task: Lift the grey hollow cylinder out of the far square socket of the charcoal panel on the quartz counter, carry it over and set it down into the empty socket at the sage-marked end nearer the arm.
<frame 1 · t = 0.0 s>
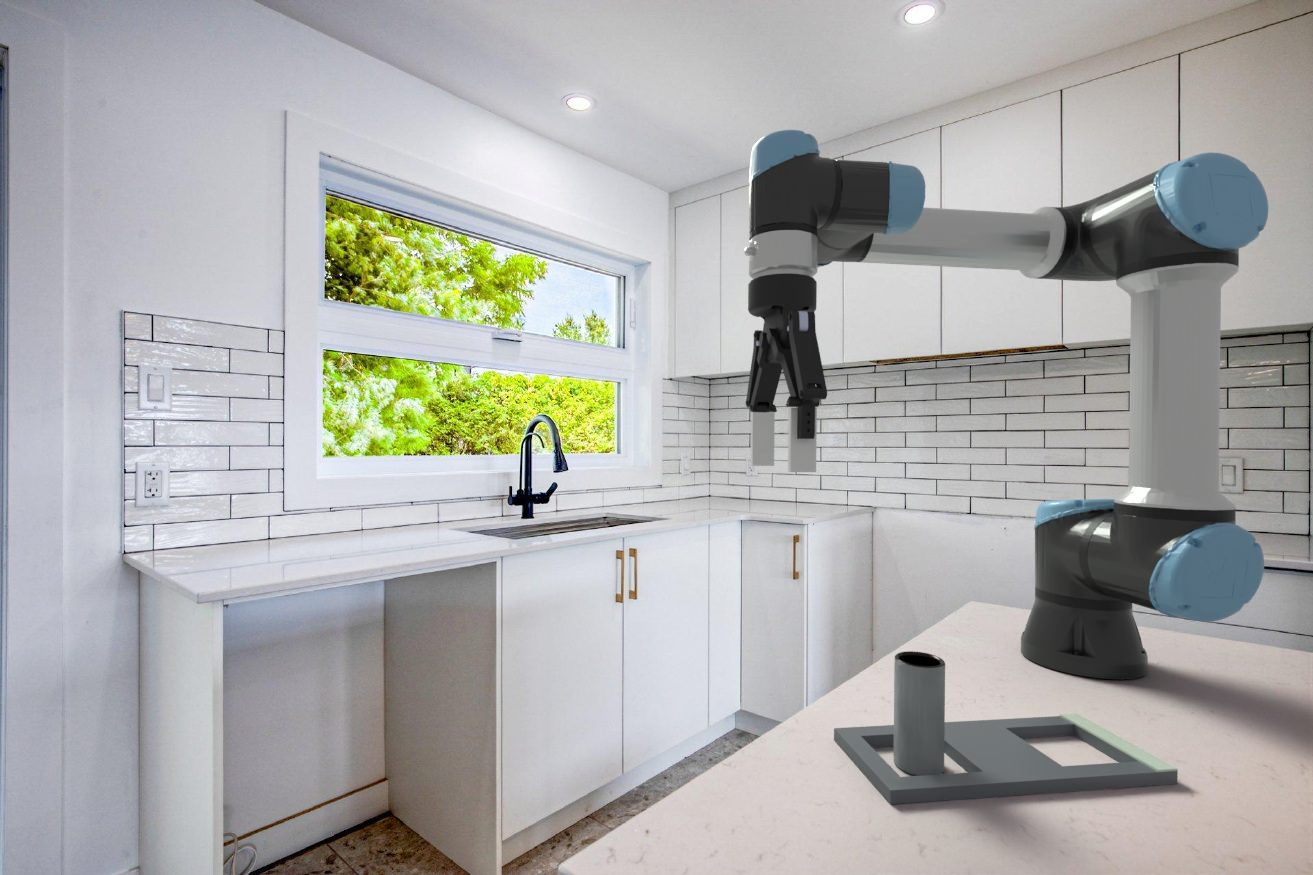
hand: (780, 468, 73), 28 cm above the countertop, fingers open, 13 cm apart
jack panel: (994, 760, 64), on the countertop
grey hollow cylinder: (918, 767, 63), resting in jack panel
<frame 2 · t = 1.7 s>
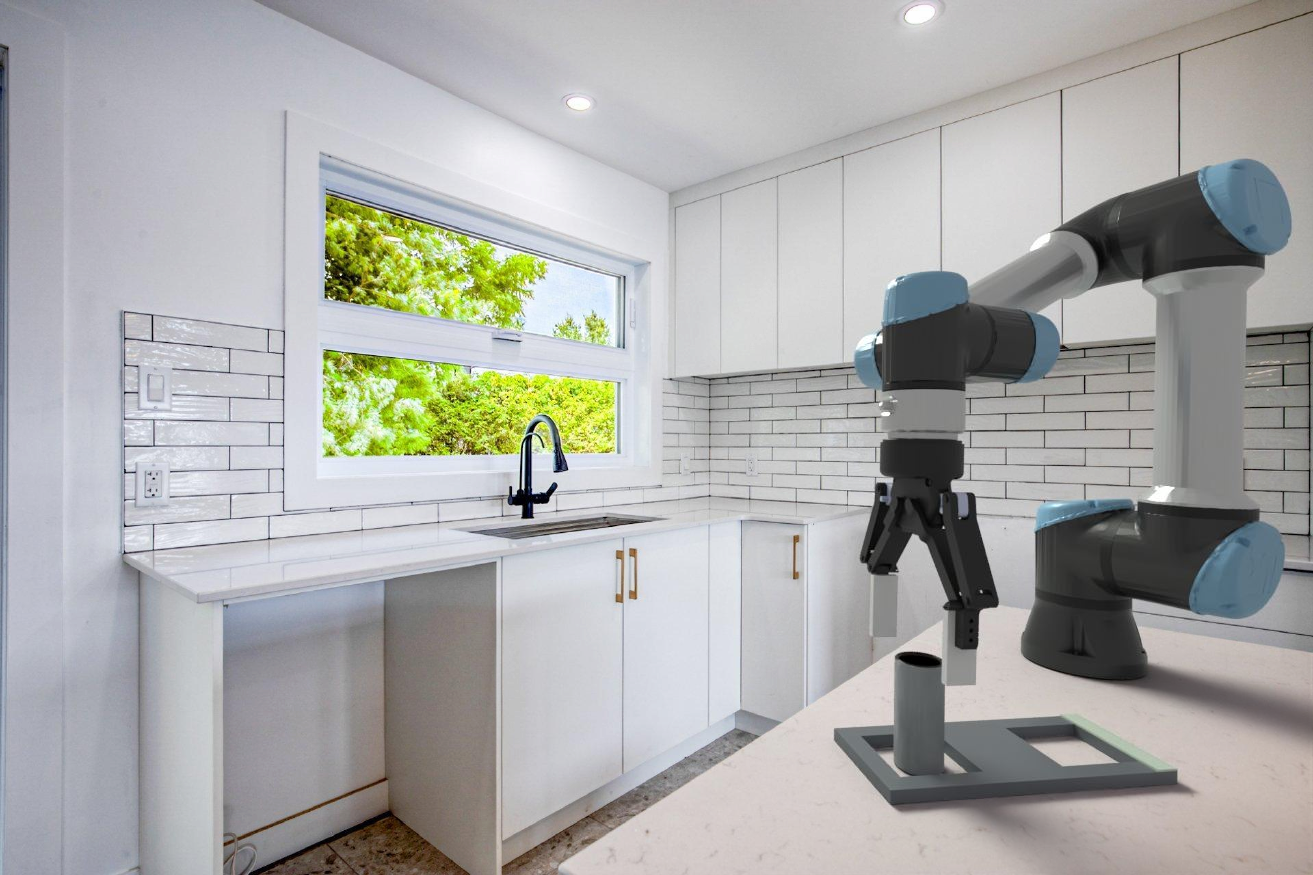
hand: (916, 657, 63), 10 cm above the countertop, fingers open, 13 cm apart
nothing on the countertop moved.
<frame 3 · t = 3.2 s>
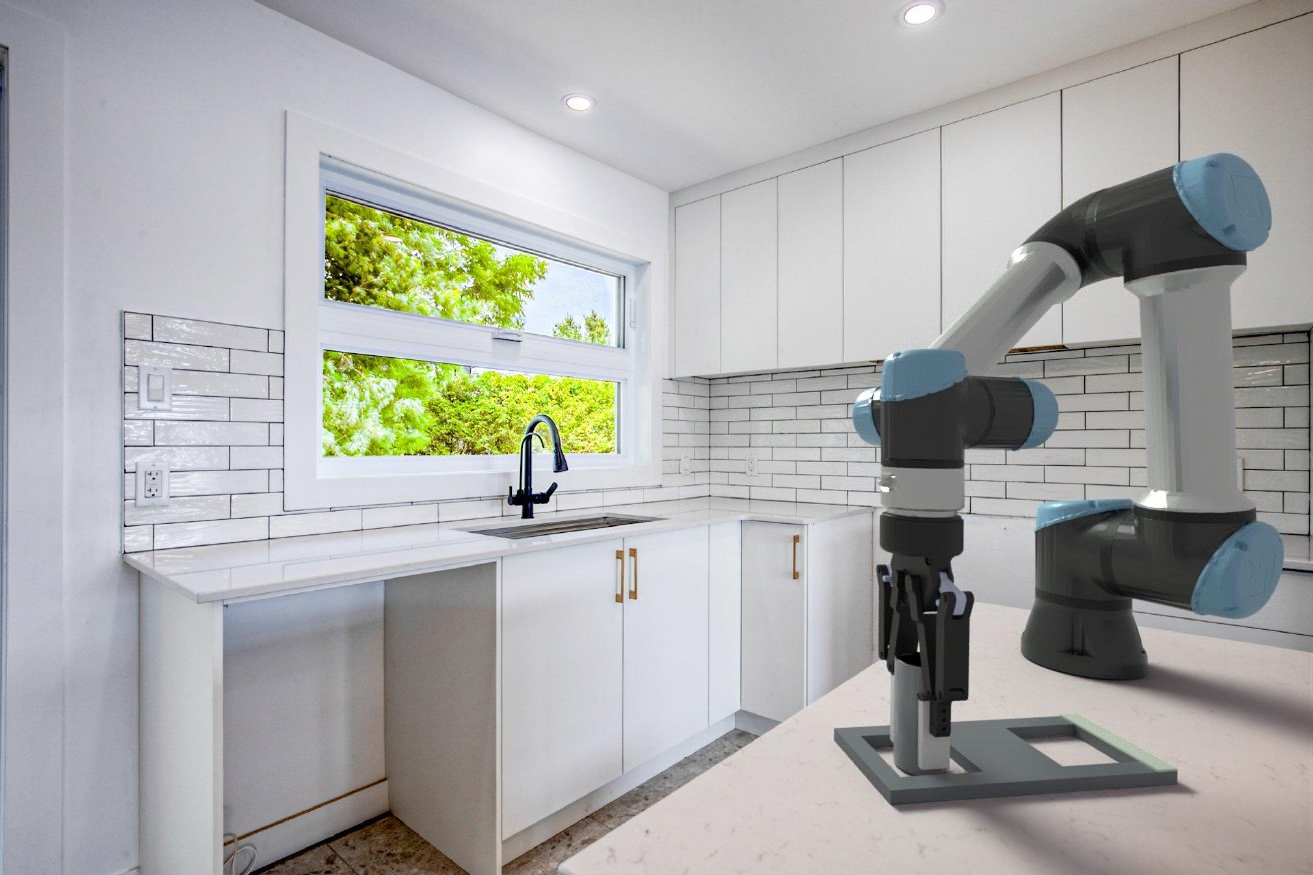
hand: (918, 752, 63), 1 cm above the countertop, fingers closed on grey hollow cylinder, 4 cm apart
grey hollow cylinder: (918, 767, 63), resting in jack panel, touching gripper
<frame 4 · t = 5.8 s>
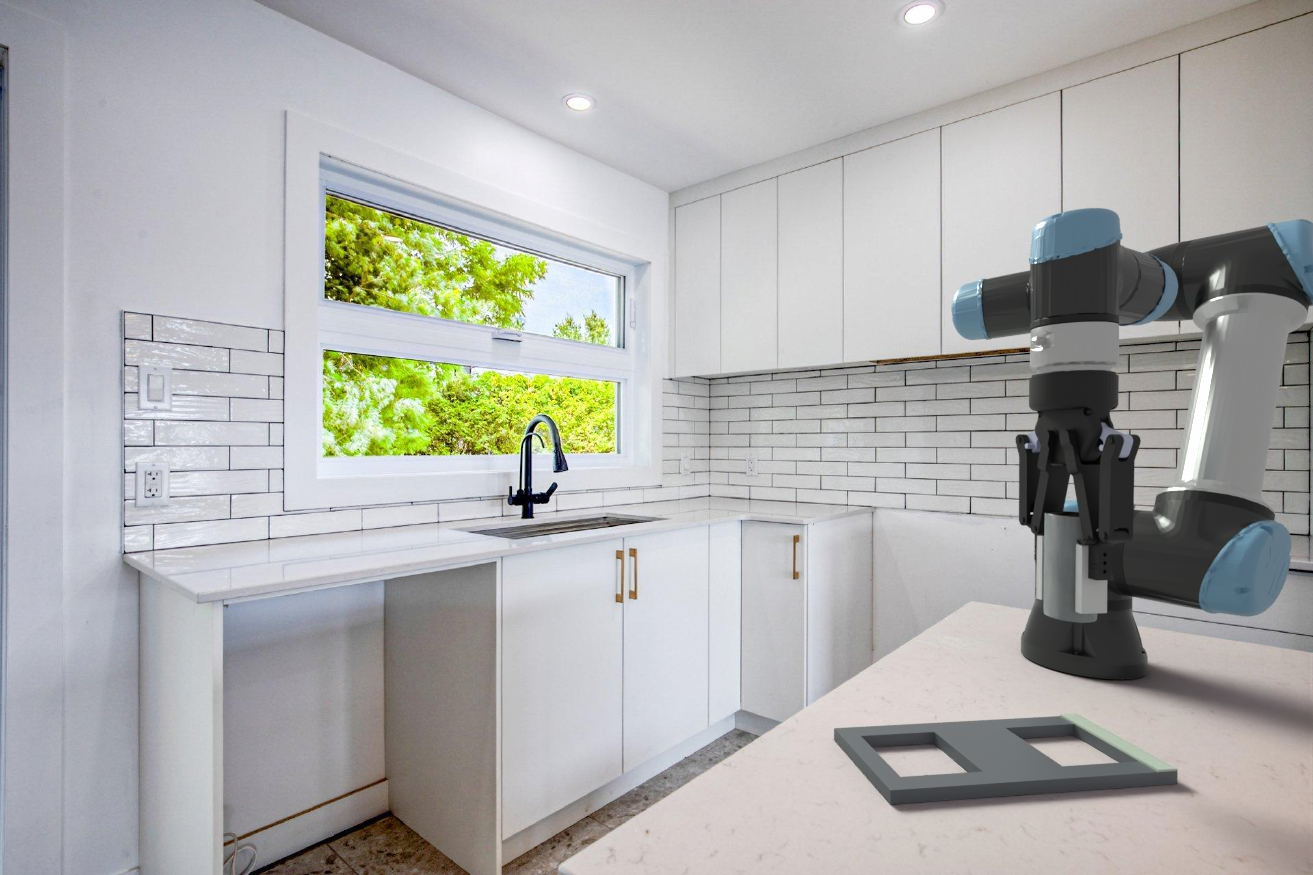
hand: (1070, 604, 65), 15 cm above the countertop, fingers closed on grey hollow cylinder, 4 cm apart
grey hollow cylinder: (1069, 618, 65), point 14 cm above the countertop, touching gripper
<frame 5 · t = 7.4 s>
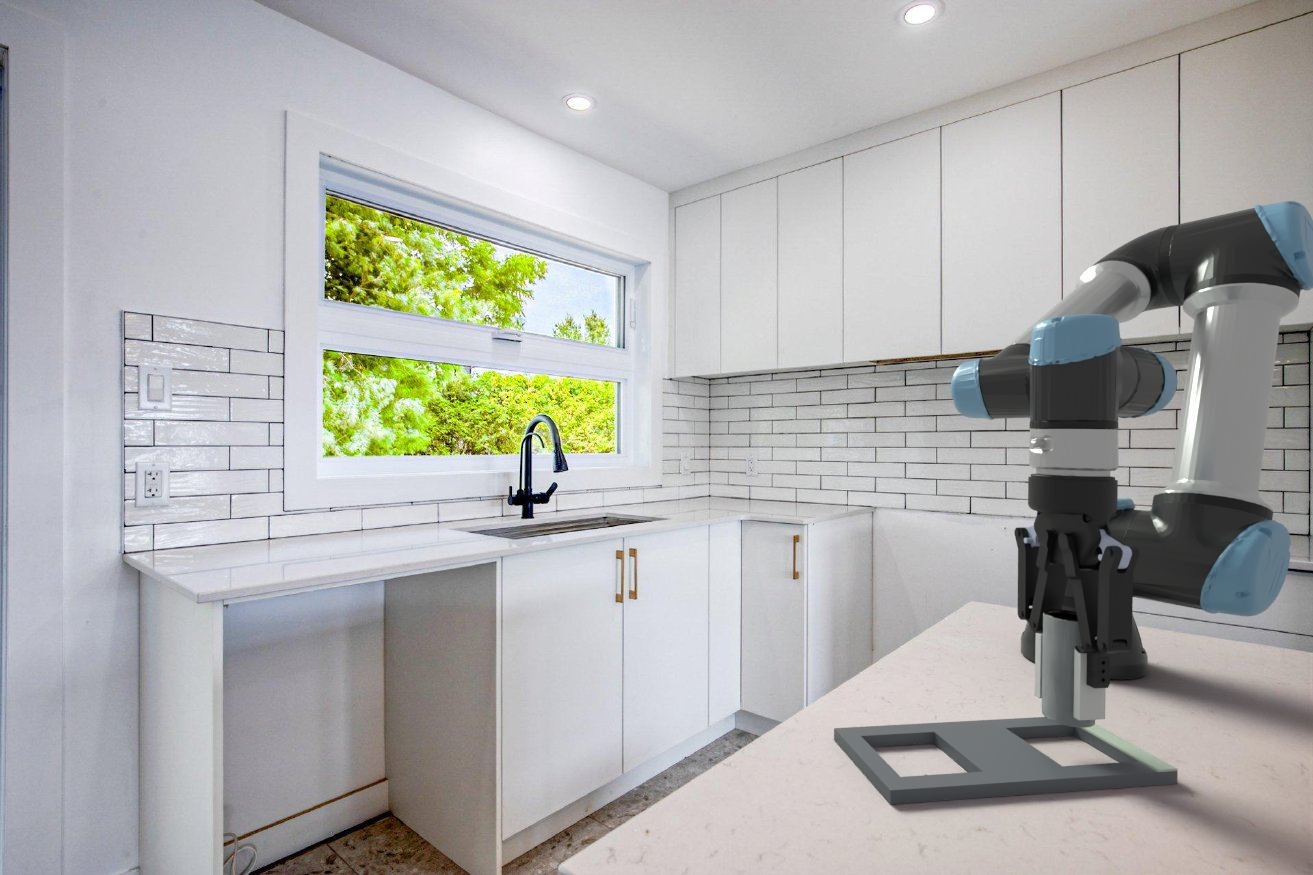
hand: (1068, 706, 65), 5 cm above the countertop, fingers closed on grey hollow cylinder, 4 cm apart
grey hollow cylinder: (1067, 720, 65), point 4 cm above the countertop, touching gripper
when the fingers open (2 cm above the countertop, at t = 8.7 s): grey hollow cylinder stays where it is, resting in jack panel.
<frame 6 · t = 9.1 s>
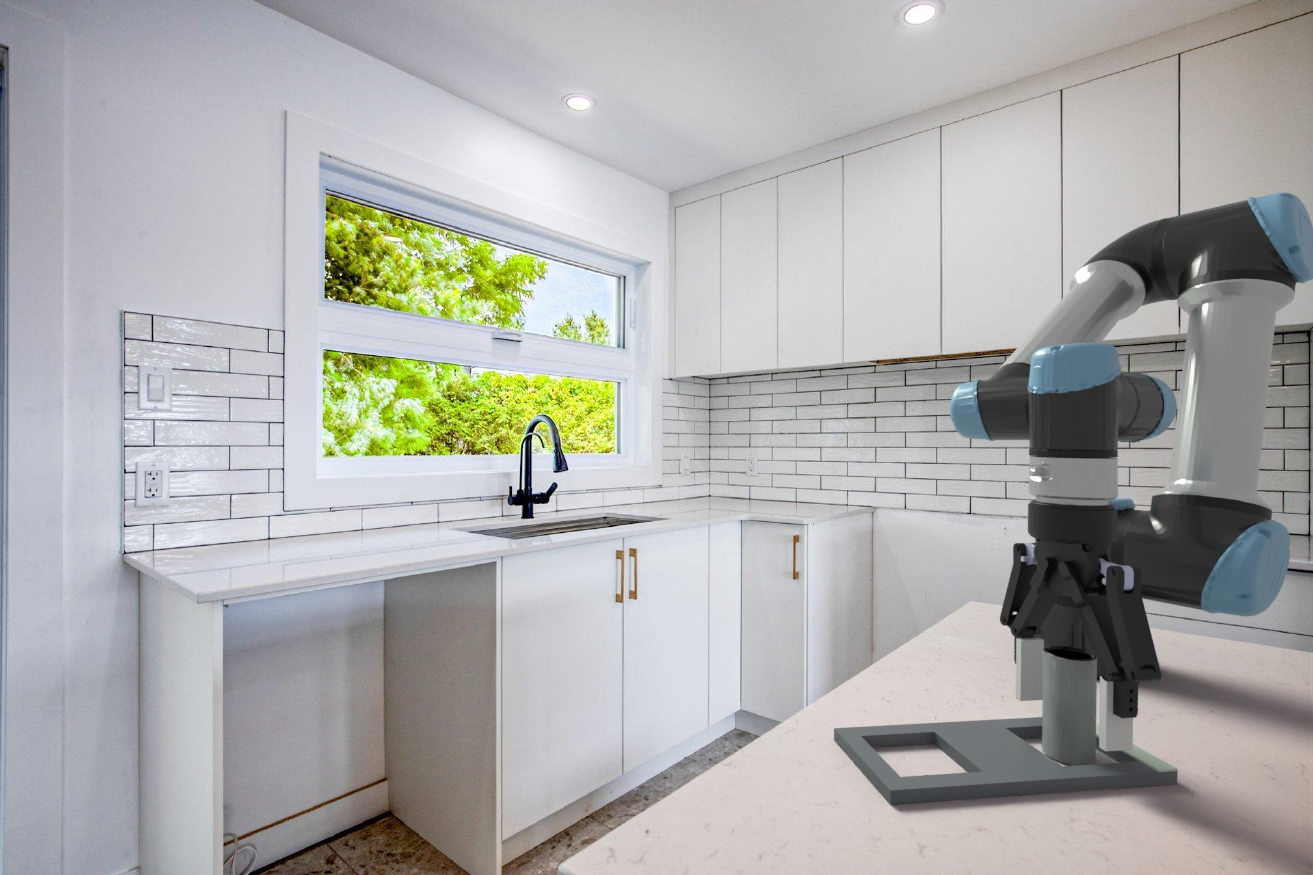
hand: (1068, 721, 65), 3 cm above the countertop, fingers open, 10 cm apart
grey hollow cylinder: (1068, 757, 65), resting in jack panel
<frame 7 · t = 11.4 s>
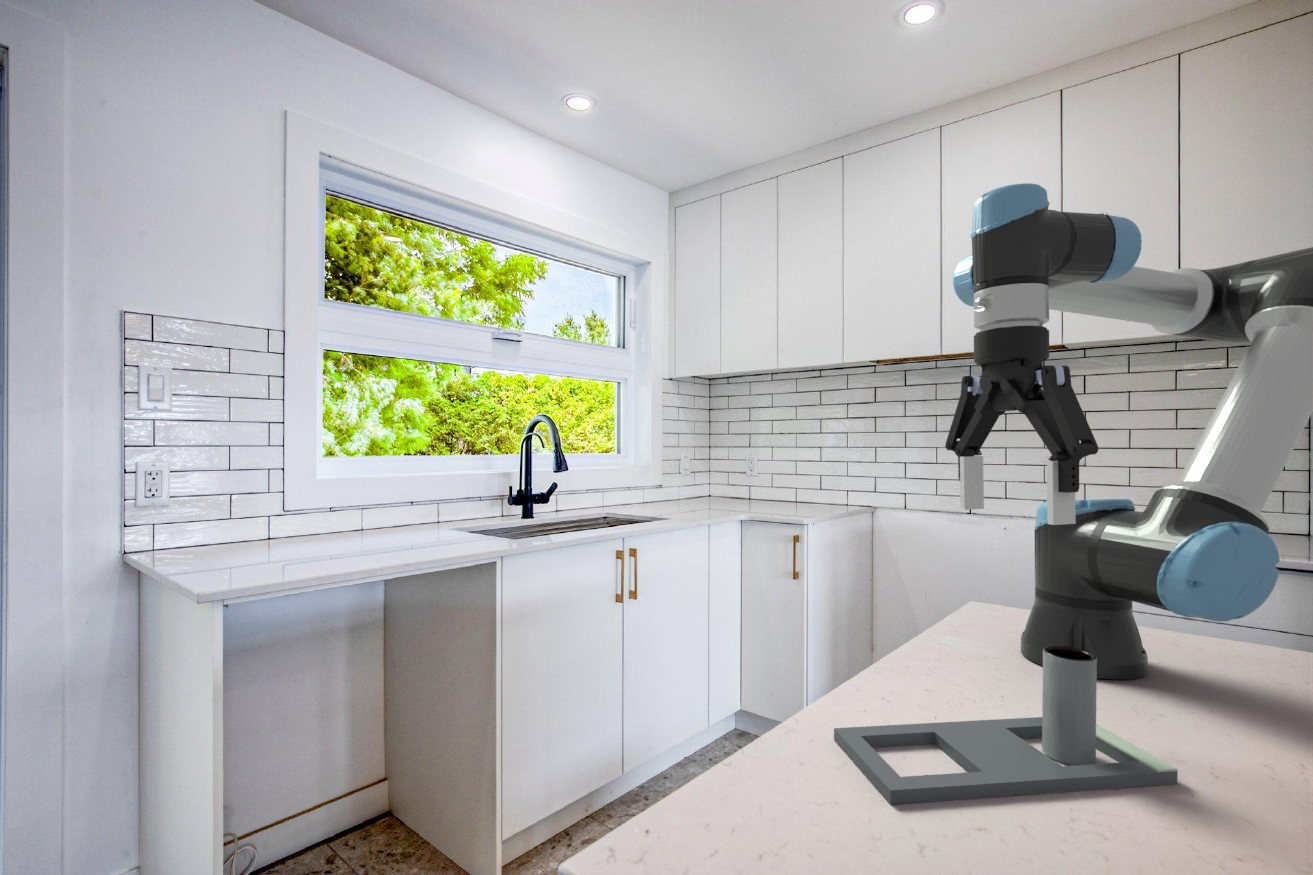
hand: (1012, 516, 74), 23 cm above the countertop, fingers open, 13 cm apart
nothing on the countertop moved.
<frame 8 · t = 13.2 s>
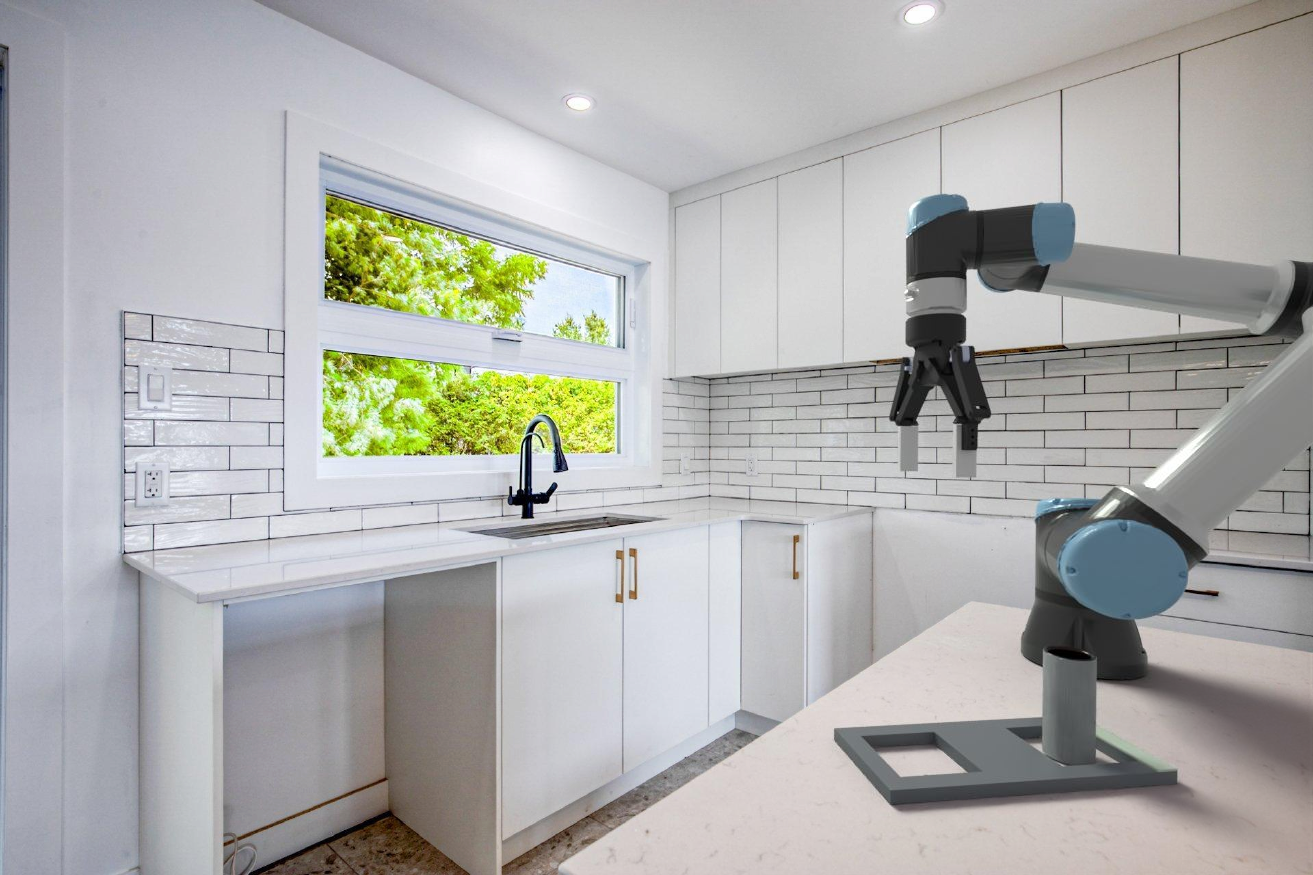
hand: (933, 474, 88), 27 cm above the countertop, fingers open, 13 cm apart
nothing on the countertop moved.
at the end: grey hollow cylinder 0.1 cm from the target spot, resting in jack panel; grey hollow cylinder tilted 0°; the gripper is holding nothing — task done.
